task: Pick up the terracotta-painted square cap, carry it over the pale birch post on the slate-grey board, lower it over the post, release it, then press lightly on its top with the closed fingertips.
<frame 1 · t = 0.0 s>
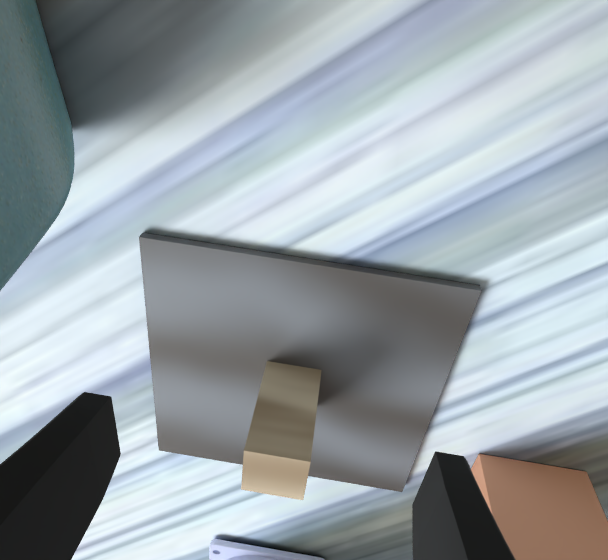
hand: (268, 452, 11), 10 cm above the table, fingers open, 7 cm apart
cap: (513, 493, 27), on the table
post block: (292, 378, 24), on the table
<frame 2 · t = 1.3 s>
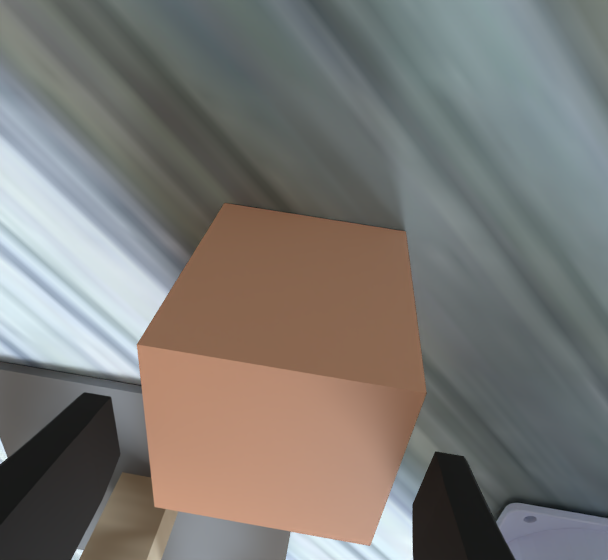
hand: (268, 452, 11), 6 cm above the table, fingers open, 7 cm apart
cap: (304, 291, 16), on the table
post block: (153, 485, 24), on the table
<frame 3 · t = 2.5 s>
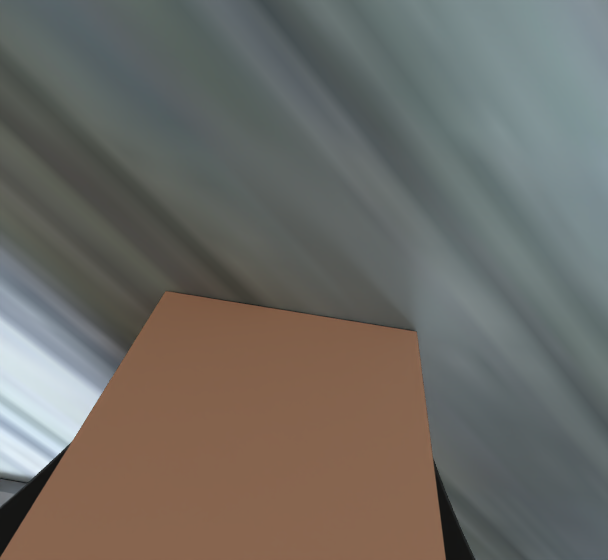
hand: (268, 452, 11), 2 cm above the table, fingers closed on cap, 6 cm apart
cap: (279, 398, 12), on the table, touching gripper
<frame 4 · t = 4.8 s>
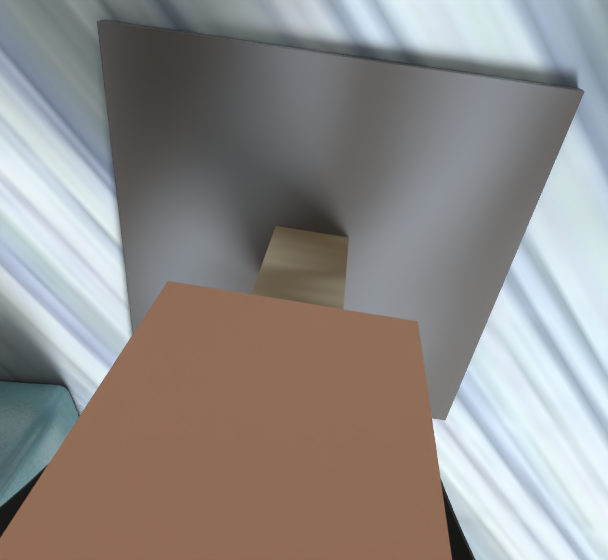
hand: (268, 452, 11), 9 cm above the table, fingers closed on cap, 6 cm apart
flower pot: (38, 409, 25), on the table
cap: (280, 390, 12), point 7 cm above the table, touching gripper
post block: (309, 257, 18), on the table
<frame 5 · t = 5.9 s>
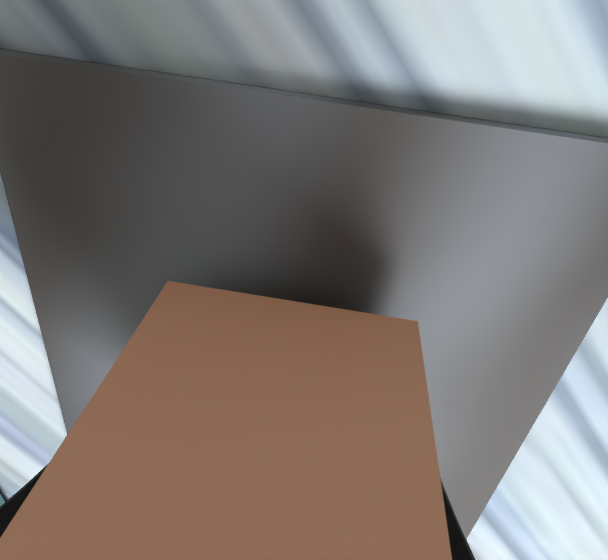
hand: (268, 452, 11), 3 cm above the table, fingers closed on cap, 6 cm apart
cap: (280, 390, 12), point 1 cm above the table, touching gripper
post block: (289, 354, 13), on the table
when the fingers open (3 cm above the table, at t = 7.0 s): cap stays where it is, resting on post block.
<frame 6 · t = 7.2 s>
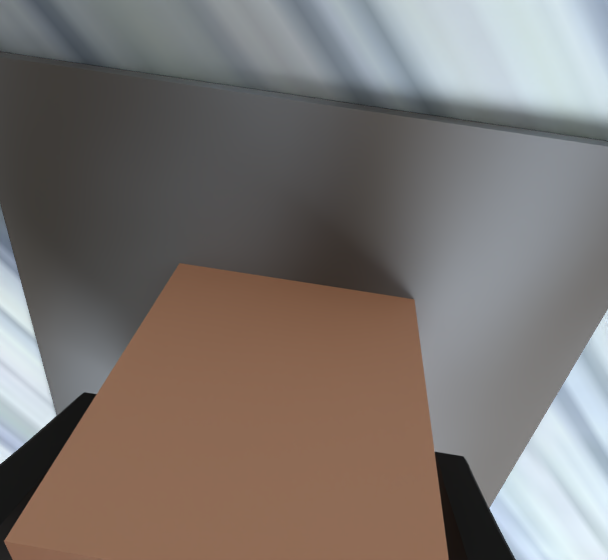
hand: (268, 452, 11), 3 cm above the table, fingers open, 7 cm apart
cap: (285, 366, 13), resting on post block
post block: (287, 360, 13), on the table
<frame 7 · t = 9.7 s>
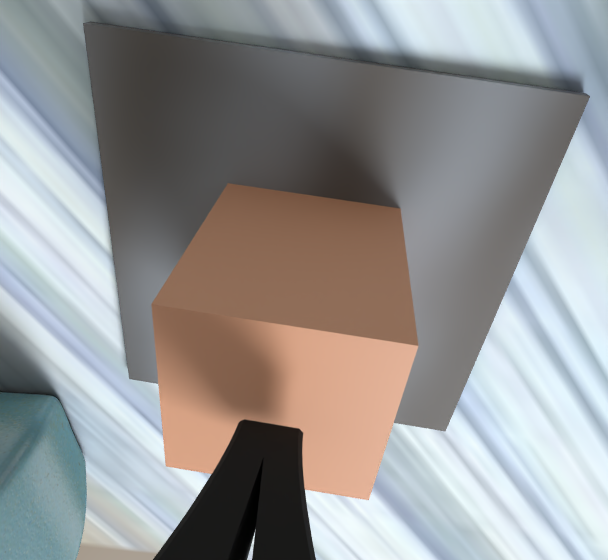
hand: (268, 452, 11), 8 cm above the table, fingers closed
flower pot: (29, 419, 25), on the table
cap: (304, 268, 17), resting on post block
post block: (305, 265, 17), on the table
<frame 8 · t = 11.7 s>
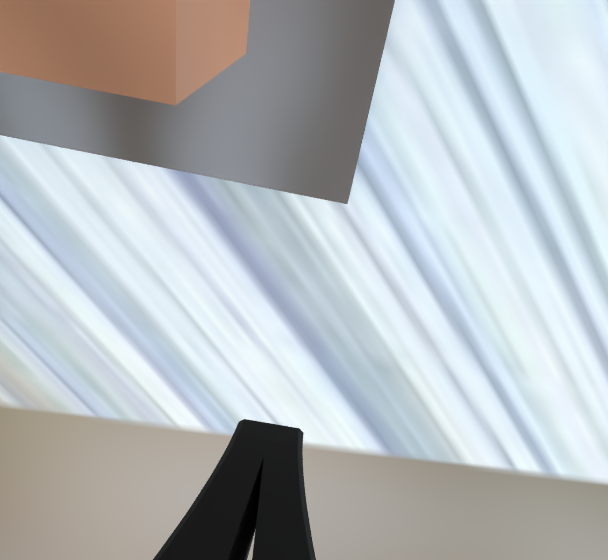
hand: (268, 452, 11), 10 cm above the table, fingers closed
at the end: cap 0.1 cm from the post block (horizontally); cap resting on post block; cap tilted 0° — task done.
